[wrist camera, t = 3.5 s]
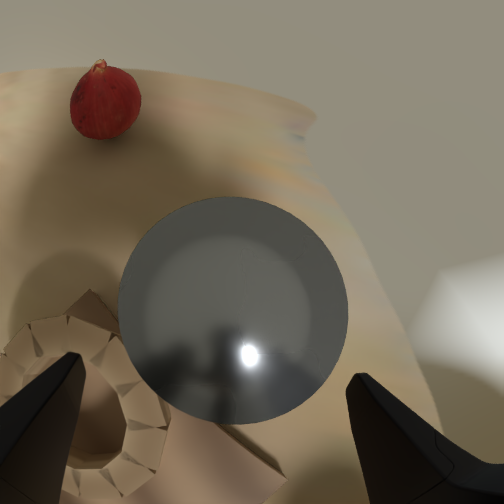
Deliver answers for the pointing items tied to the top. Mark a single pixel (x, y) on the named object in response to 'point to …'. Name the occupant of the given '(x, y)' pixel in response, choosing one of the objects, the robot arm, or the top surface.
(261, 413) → the chrome metal cylinder
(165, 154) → the top surface
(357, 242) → the top surface
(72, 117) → the pomegranate
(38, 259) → the top surface
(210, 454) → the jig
